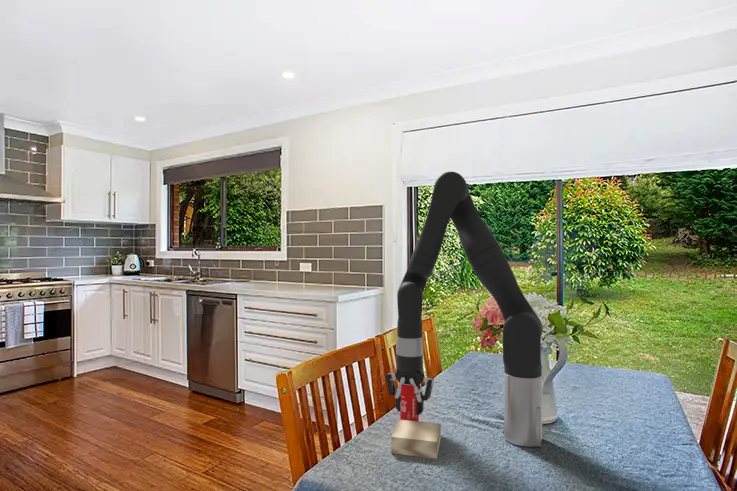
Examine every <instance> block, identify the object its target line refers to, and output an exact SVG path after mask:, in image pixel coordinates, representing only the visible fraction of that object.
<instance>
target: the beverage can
mask: <svg viewBox="0 0 737 491" xmlns="http://www.w3.org/2000/svg"><path fill="white" fill-rule="evenodd" d="M414 387H415V386H413V384H411V383H402V385H401V393H400V412H399V413H400V414H399V416H400V417H399V418H400V419H399V420H409V421H419V422H420V420H419V419H420V415H417V401H418V400H417V397H416V394H415V393H414ZM417 388H418V389H419V386H418V387H417ZM415 390H416V389H415Z"/></svg>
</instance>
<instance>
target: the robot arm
mask: <svg viewBox="0 0 737 491" xmlns="http://www.w3.org/2000/svg"><path fill="white" fill-rule="evenodd" d="M450 219H451V221H452V223H453V225H454V226H455V228H456V231H457V234H458V237H459V240H460V243H461V246H462V249H463V251H464V253H465V256H466V258H467V260H468V262H469V265H470V266H471V269H472V270H473V272H474V274H475V276H476V277H477V279H478V280H479V281H480V283H481V284H482V285H483V286H484V287H485V289H486V290H487V291H488V292H489V294H490V295H491V297H492V298H493V299H494V301H495V302H496V304H497V306H498V308H499V310H500V312H501V314H502V317H503V320H504V323H503V325H502V326H503V327H502V361H503V368H504V369H503V371H504V372H503V374H504V375H503V377H504V378H503V379H504V380H503V381H504V382H503V386H504V387H503V390H504V391H503V394H504V395H503V438H504V440H506V442H508V443H510V444H512V445H516V446H519V447H525V448H526V447H527V448H528V447H531V448H532V447H539V448H541V447H542V440H543V402H542V400H543V399H542V393H543V392H542V391H543V390H542V388H543V387H542V382H543V381H542V377H543V376H542V374H543V372H542V369H543V366H542V358H541V357H542V350H541V349H542V348H541V346H542V344H541V342H542V335H543V330H544V329H543V324H542V320H541V319H540V318H539V316H538V315H537V313H536V312H535V310H534V309H533V308H532V306H531V305H530V303H529V302H528V300H527V298H526V297H525V295H524V294H523V292H522V290H521V288H520V286H519V284H518V282H517V278H516V277H515V274H514V272H513V269H512V267H511V266H510V263H509V261H508V259H507V257H506V255H505V253H504V251H503V249H502V248H501V245H500V244H499V242H498V240H497V239H496V238H495V236H494V234H493V232H492V231H491V230H490V228H489V227H488V226H487V224H486V223H485V222H484V221H483V219H482V217H481V216H480V214H479V212H478V210H477V209H476V206H475V203H474V201H473V198H472V196H471V193H470V189H469V186H468V184H467V181H466V180H465V178H464V177H463V176H462V175H461V174H460V173H458V172H456V171H446V172H443V173H441V174H440V175H439V176H438V177H437V179H436V180H435V182H434V185H433V191H432V195H431V199H430V204H429V208H428V211H427V215H426V218H425V220H424V224H423V226H422V229H421V232H420V234H419V236H418V239H417V241H416V244H415V246H414V250H413V251H412V254H411V257H410V260H409V263H408V265H407V269H406V272H405V273H404V276H403V278H402V280H401V283H400V284H399V287H398V288H397V289H398V290H397V295H396V296H397V298H396V299H397V300H396V301H397V315H398V317H397V324H396V325H397V328H396V329H397V330H396V331H397V334H396V335H397V337H396V347H395V352H396V353H395V354H396V358H395V359H396V361H395V362H396V371H395V372H388V373H386V375H385V381H386V384H387V390H388V394H389V395H390V396H393V397H394V398H395V410H397V412H398V413H400V393H401V385H402V383H411V384H413V386H415V387H414V393H415V394H416V397H417V400H418V401H417V415H419V416H420V415H421V414H423V412H424V407H425V404H424V402H426V401H428V400H429V399H430V398H431V395H432V391H433V386H434V381H435V379H434V378H433V377H427V376H425V374H424V343H423V342H424V340H423V319H422V315H423V313H422V312H423V297H424V296H423V294H424V292H425V288H426V286H427V283H428V279H429V277H431V274H432V273H433V271H434V268H435V266H436V263H437V261H438V258H439V256H440V253H441V249H442V246H443V242H444V238H445V234H446V230H447V227H448V225H449V222H450ZM395 380H396V381H397V382H398V386H397V389H396V385H395ZM423 382H424V386H425V390H424V392H423V387H422V385H421V384H422V383H423ZM418 386H419V389H418V388H417V387H418ZM415 389H416V390H415Z"/></svg>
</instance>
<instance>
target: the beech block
mask: <svg viewBox="0 0 737 491" xmlns="http://www.w3.org/2000/svg"><path fill="white" fill-rule="evenodd" d="M441 426H442V424H441V423H438V422H437V423H436V422H427V421H420V420H419V421H409V420H400V419H398V421H397V423H396V425H395V427H394V430H393V432H392V434H391V437H390V445H391V446H390V447H391V448H390V449H391V450H390V454H395V455H403V456H412V457H420V458H428V459H436V460H437V459H438V455H439V451H440V450H439V448H440V446H441V445H440V444H441V436H442V430H441V429H442V428H441Z"/></svg>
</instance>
